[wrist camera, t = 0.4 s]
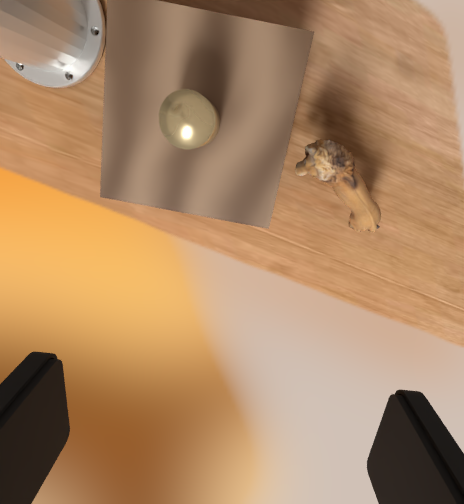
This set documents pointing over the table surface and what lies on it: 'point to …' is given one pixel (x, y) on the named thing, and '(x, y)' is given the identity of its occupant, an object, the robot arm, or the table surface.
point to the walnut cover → (198, 109)
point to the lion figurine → (341, 181)
